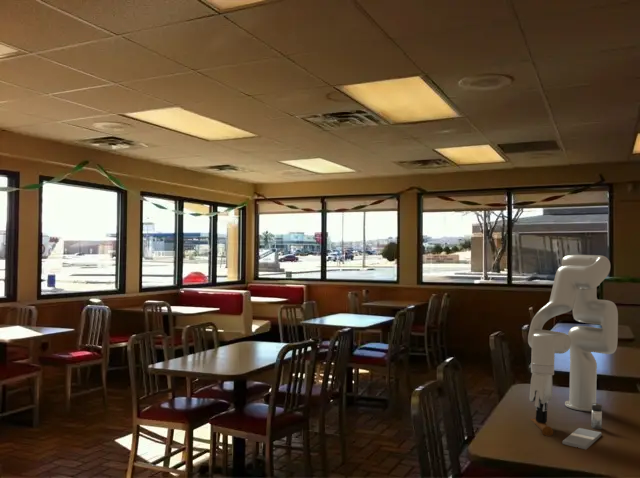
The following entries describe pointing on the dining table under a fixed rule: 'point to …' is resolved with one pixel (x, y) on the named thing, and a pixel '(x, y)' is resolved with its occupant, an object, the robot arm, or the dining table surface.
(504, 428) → the dining table surface
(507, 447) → the dining table surface
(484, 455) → the dining table surface
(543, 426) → the primitive tool
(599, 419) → the steel peg
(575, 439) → the panel
